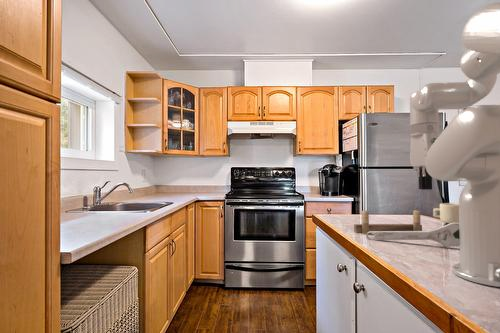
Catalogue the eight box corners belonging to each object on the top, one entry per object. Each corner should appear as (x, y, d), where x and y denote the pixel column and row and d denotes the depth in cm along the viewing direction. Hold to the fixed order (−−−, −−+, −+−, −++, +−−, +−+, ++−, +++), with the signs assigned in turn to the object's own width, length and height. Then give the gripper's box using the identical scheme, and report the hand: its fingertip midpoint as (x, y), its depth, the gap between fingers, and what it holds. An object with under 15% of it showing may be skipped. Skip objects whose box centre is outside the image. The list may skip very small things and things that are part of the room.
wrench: (368, 246, 100) (471, 248, 85) (367, 247, 99) (472, 249, 83) (365, 224, 101) (467, 222, 85) (364, 225, 99) (468, 223, 84)
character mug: (472, 241, 94) (471, 204, 94) (474, 246, 88) (473, 206, 89) (434, 237, 100) (433, 202, 101) (433, 241, 95) (432, 204, 95)
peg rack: (426, 234, 106) (426, 211, 106) (359, 234, 106) (358, 211, 107) (418, 231, 111) (418, 209, 111) (354, 231, 112) (353, 209, 112)
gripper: (453, 126, 78) (455, 191, 78) (422, 134, 93) (423, 187, 93) (426, 127, 78) (428, 191, 78) (399, 134, 93) (400, 188, 93)
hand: (425, 189), depth 85 cm, fingers closed
